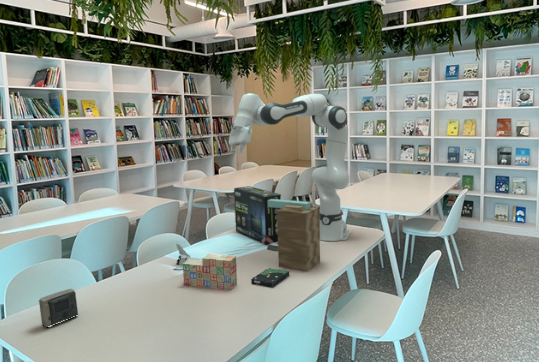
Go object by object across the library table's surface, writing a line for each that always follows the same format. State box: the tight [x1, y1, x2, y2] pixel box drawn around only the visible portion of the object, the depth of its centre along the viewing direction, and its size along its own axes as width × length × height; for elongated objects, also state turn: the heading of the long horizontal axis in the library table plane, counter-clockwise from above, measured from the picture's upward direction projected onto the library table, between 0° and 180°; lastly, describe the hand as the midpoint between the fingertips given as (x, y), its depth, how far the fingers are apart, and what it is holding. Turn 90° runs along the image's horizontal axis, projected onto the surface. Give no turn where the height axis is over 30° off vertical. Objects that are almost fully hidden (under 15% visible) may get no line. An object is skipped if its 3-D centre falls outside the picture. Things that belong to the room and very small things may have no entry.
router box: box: [233, 185, 282, 246], centre depth 245 cm, size 36×11×27 cm, turn 32°
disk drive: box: [250, 267, 290, 289], centre depth 181 cm, size 10×3×15 cm
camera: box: [38, 288, 79, 328], centre depth 148 cm, size 11×6×10 cm, turn 140°
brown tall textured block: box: [276, 201, 321, 272], centre depth 196 cm, size 15×15×28 cm
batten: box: [268, 199, 311, 210], centre depth 197 cm, size 4×20×3 cm, turn 58°
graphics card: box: [266, 242, 278, 252], centre depth 228 cm, size 10×3×25 cm
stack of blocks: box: [182, 253, 238, 291], centre depth 177 cm, size 21×6×12 cm, turn 72°
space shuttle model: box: [173, 243, 202, 271], centre depth 199 cm, size 16×25×10 cm, turn 66°
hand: (235, 153), depth 205 cm, fingers open, 8 cm apart
